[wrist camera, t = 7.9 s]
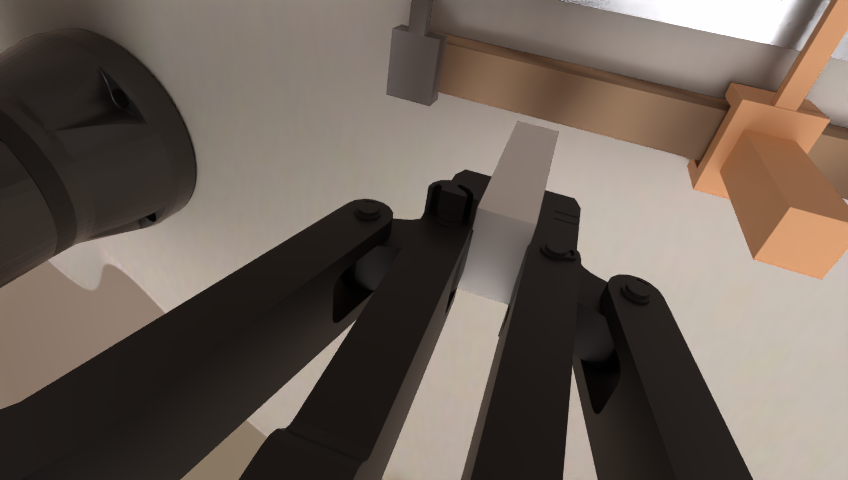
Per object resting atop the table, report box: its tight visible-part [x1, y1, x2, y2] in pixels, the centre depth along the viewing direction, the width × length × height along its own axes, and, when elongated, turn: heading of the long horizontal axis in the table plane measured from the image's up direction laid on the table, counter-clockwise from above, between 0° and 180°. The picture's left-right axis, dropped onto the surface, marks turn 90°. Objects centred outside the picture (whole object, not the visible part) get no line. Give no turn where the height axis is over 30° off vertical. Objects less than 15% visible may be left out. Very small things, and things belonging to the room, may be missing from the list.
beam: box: [386, 0, 848, 200], centre depth 20 cm, size 28×10×3 cm, turn 84°
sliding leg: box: [687, 0, 848, 280], centre depth 16 cm, size 3×10×10 cm, turn 174°
